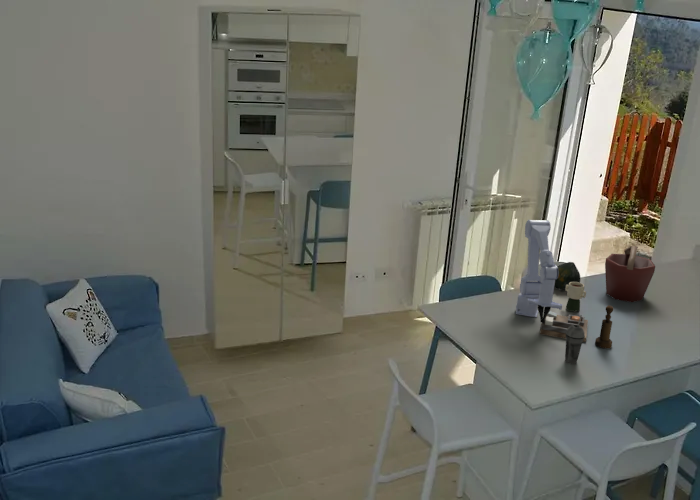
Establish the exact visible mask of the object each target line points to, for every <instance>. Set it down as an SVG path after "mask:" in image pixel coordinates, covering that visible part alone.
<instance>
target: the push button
mask: <svg viewBox="0 0 700 500" xmlns="http://www.w3.org/2000/svg"><path fill="white" fill-rule="evenodd" d="M578 316H579V315H575V316H572V319H571V320H574V321H579V319H580V317H578ZM580 322H581V320H580Z"/></svg>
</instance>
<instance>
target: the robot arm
mask: <svg viewBox="0 0 700 500" xmlns="http://www.w3.org/2000/svg"><path fill="white" fill-rule="evenodd" d="M550 232H551V221H549V220H548V219H546V220H545V219H544V220H542V219H540V220H539V219H527V220H526V222H525V225H524V235H525V236H524V237H525V238H527V241H528V246H527V272H526V274H525V275H524V276H522V277H521V278H520V284H519V292H520V293H518V296H517V301H516V305H515V315H518V316H519V315H520V316H525V317H530V318H531V317H532V318H537V317H538V314H539V318H540V320H539V321H540V323H541V324H542V323H544V320H545V317H546V316H547V314H548V313H549V311H551V308H552V309H557V310H561V311H562V309H563V303H559V302H555V301H553V296H554V290H555V288H554V285H555V279H557V278H558V274H559V272H558V267H557V266H558V265H557V264H556V263H555V261H554V256H553V251H551V250H550V247H549V235H550ZM539 264H540V266H539ZM539 267H540V269H539ZM539 270H540V271H539Z"/></svg>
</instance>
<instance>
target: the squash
mask: <svg viewBox="0 0 700 500" xmlns="http://www.w3.org/2000/svg"><path fill="white" fill-rule="evenodd" d="M556 266H557V267H558V272H559V274H558V278H557V279H555V285H554V290H555V289H556V290H560V291H565V288H566V285H569V283H570V282H579V283H581V273H580V271H579V269H578V268H577V266H576V263H575V262H572V261H568V262H564V263H562V264H558V265H556Z"/></svg>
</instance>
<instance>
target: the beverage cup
mask: <svg viewBox="0 0 700 500" xmlns="http://www.w3.org/2000/svg"><path fill="white" fill-rule="evenodd" d="M579 316H580V319H579V322H578V325H572V326H570V327H569V328H568V329H567V331H566V339H565V353H564V358H565V359H564V361H565V362H566V363H567V364H570V365H576V364H577V363H578V360H579V356H580V352H581V348H582V345H583V343H584V342H583V340H584V338H585V334H584V330H583V329H582V327H580V326H579V324H580V320H581V317H583V316H582V314H580V315H579Z"/></svg>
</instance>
